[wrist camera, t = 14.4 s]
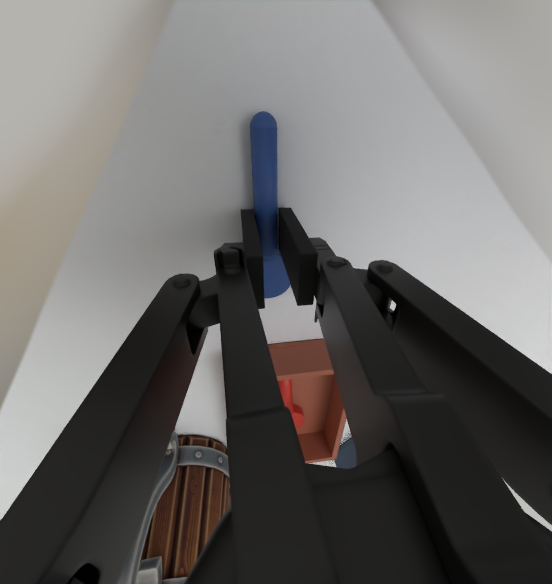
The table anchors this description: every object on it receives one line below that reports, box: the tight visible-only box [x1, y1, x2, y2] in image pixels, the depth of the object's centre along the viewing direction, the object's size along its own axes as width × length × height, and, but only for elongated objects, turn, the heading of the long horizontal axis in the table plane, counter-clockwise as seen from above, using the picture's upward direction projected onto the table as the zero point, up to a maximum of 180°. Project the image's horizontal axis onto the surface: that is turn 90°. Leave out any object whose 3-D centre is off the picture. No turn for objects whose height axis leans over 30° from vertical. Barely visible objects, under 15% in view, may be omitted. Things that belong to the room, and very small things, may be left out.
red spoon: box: [278, 379, 305, 429], centre depth 26 cm, size 11×4×1 cm, turn 4°
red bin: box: [268, 339, 347, 463], centre depth 27 cm, size 15×10×4 cm
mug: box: [117, 432, 230, 584], centre depth 24 cm, size 16×11×15 cm
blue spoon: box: [250, 111, 291, 298], centre depth 17 cm, size 11×4×1 cm, turn 0°
